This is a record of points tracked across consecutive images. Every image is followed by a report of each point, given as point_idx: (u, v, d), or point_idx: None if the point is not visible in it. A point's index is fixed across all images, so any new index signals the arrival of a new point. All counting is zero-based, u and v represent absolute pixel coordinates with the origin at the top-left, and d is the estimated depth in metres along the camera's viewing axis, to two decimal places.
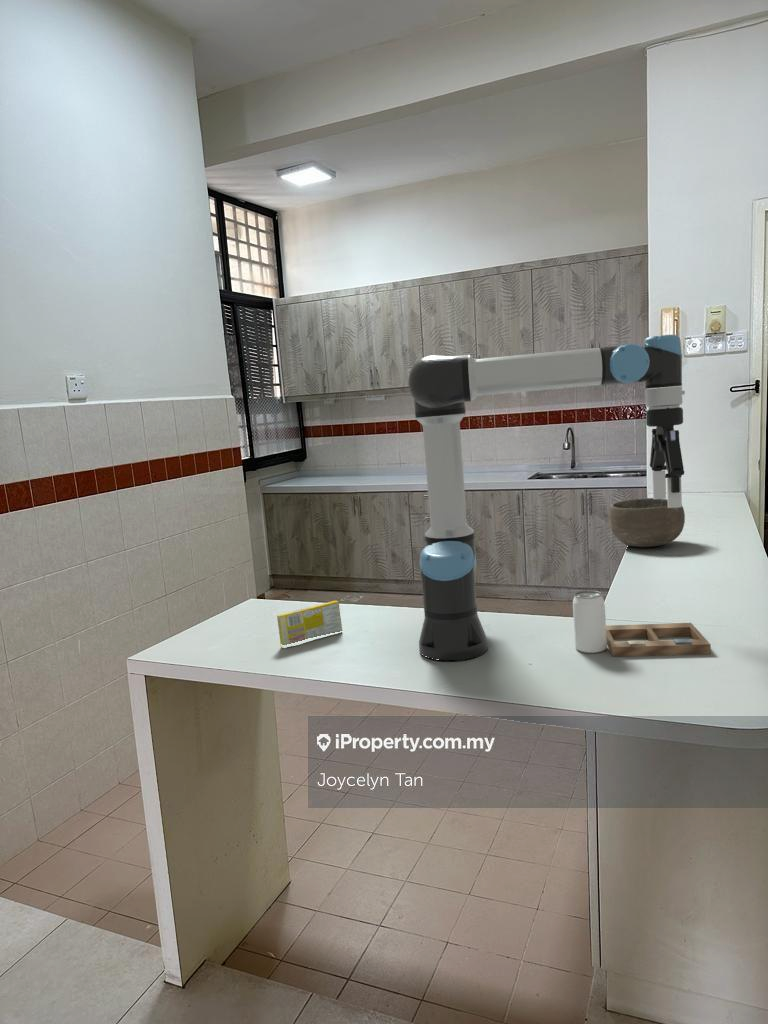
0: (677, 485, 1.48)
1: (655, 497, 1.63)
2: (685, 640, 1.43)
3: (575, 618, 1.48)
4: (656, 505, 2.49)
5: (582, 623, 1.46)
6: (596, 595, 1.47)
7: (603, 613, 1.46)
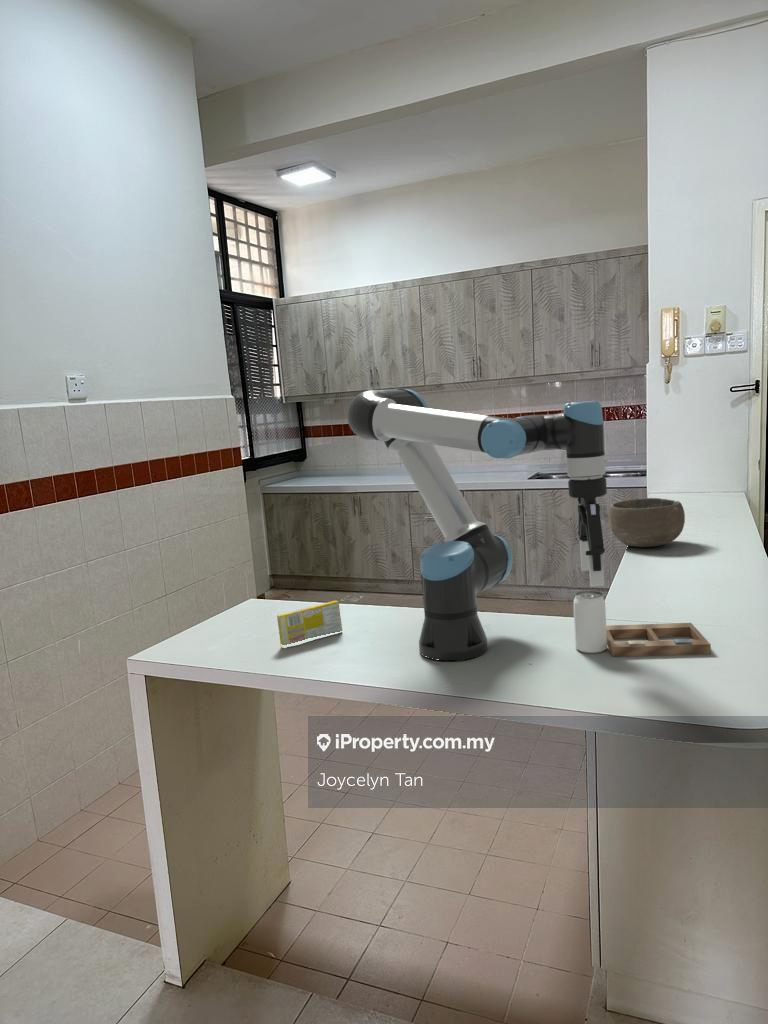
0: (598, 563, 1.38)
1: (583, 569, 1.53)
2: (685, 640, 1.43)
3: (575, 618, 1.47)
4: (656, 505, 2.49)
5: (583, 623, 1.46)
6: (597, 595, 1.47)
7: (604, 613, 1.46)
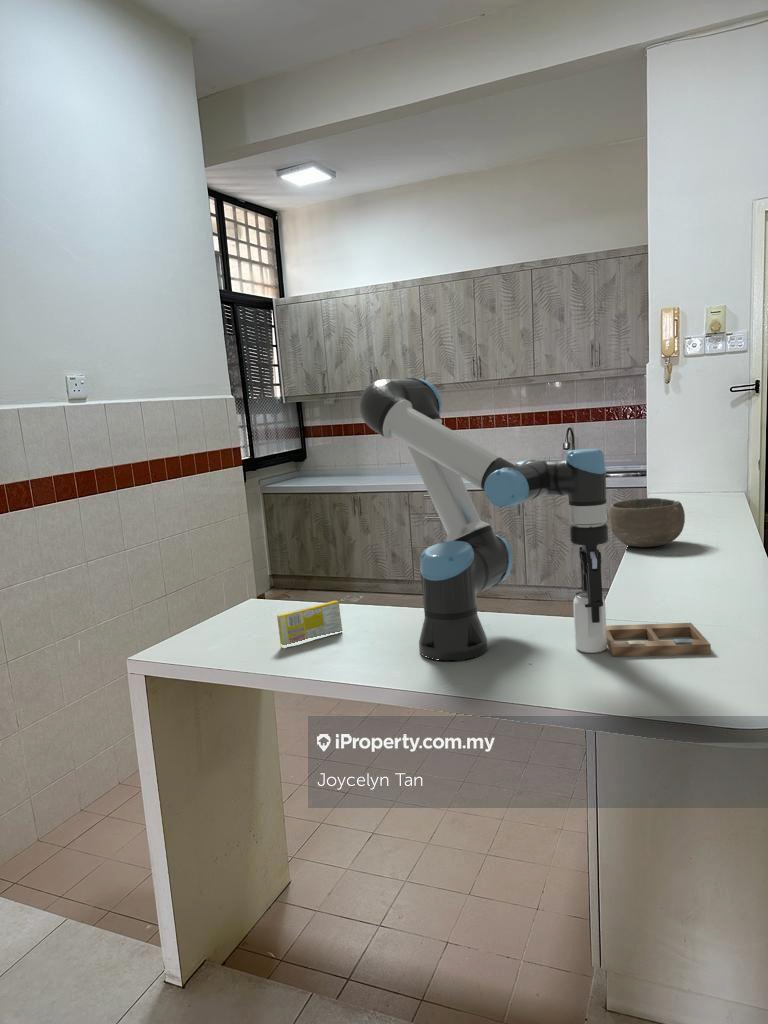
0: (597, 615, 1.43)
1: None
2: (685, 640, 1.43)
3: (575, 618, 1.48)
4: (656, 505, 2.49)
5: (583, 623, 1.46)
6: None
7: (603, 613, 1.46)
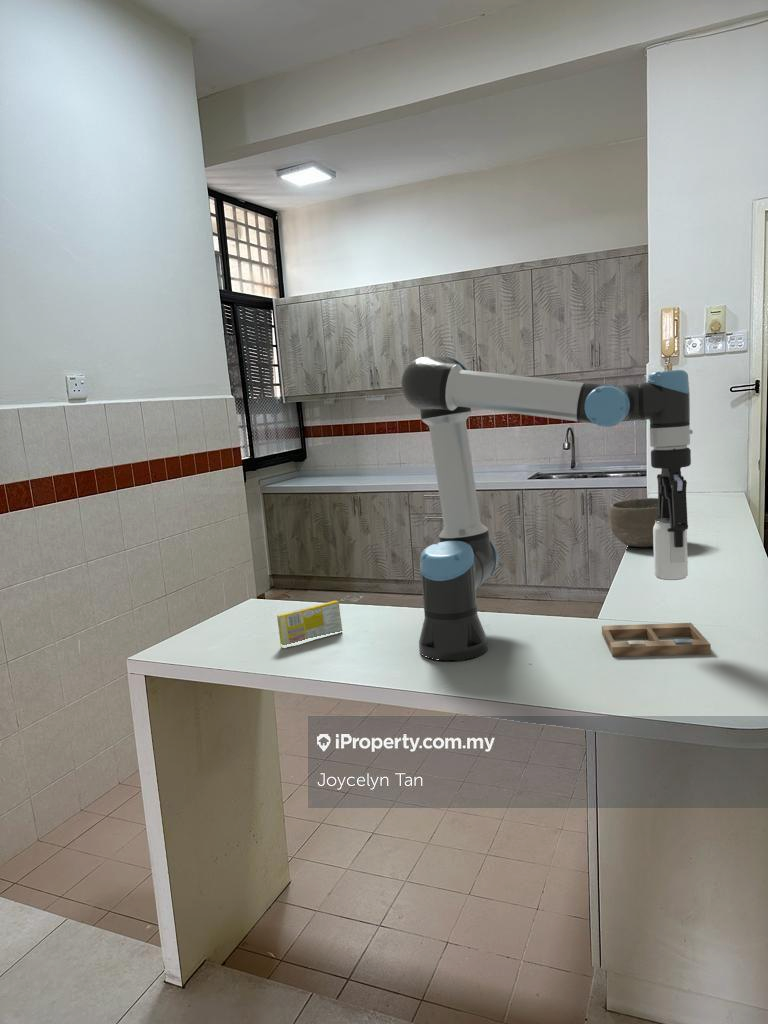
0: (680, 539, 1.40)
1: None
2: (685, 640, 1.43)
3: (656, 544, 1.45)
4: (656, 505, 2.49)
5: (664, 549, 1.43)
6: None
7: (685, 539, 1.43)
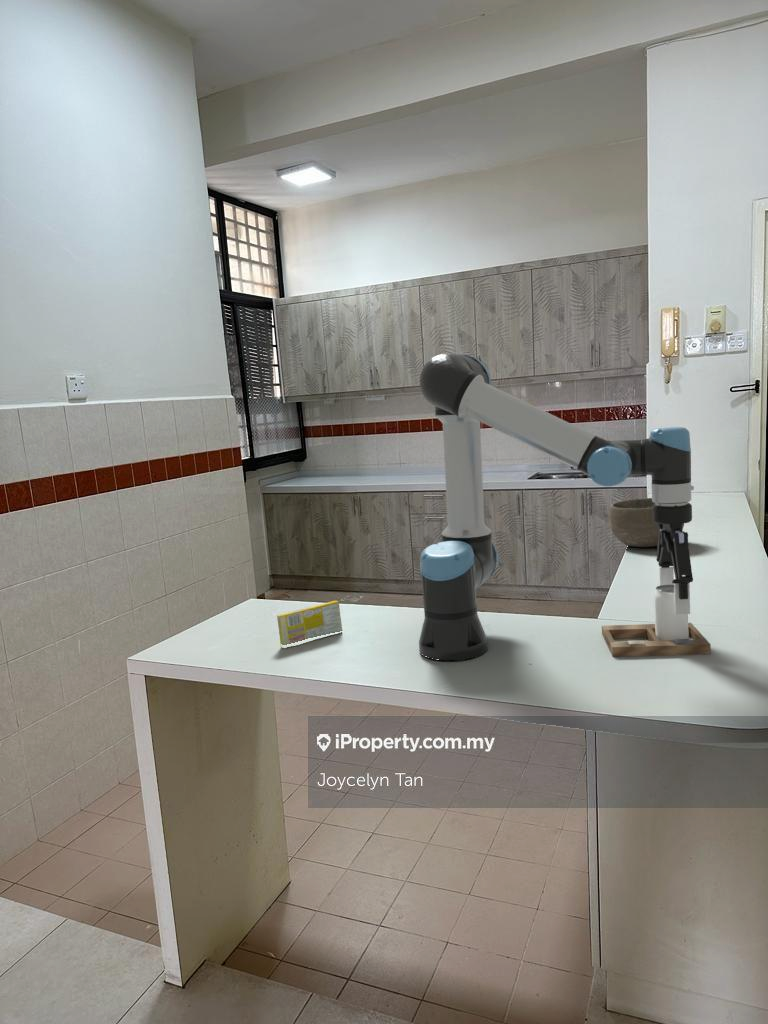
0: (685, 591, 1.39)
1: None
2: (685, 640, 1.43)
3: (657, 612, 1.47)
4: None
5: (665, 617, 1.45)
6: None
7: None
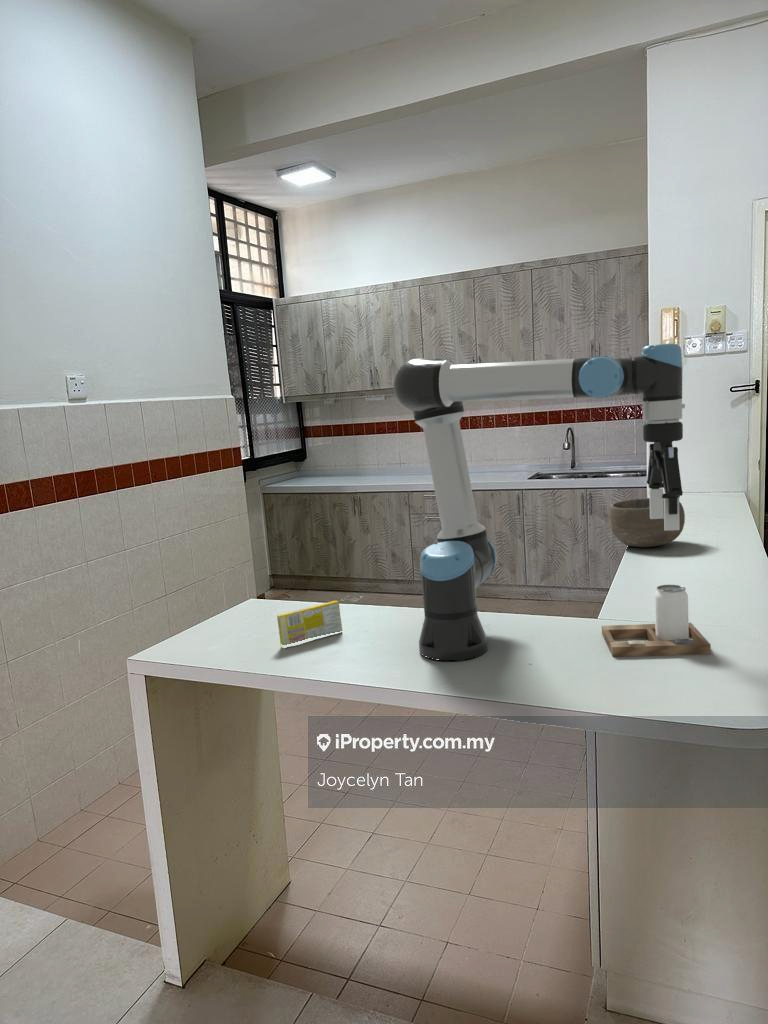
0: (675, 506, 1.37)
1: (652, 517, 1.52)
2: (685, 640, 1.43)
3: (658, 612, 1.47)
4: None
5: (666, 617, 1.45)
6: (679, 589, 1.46)
7: (687, 607, 1.45)
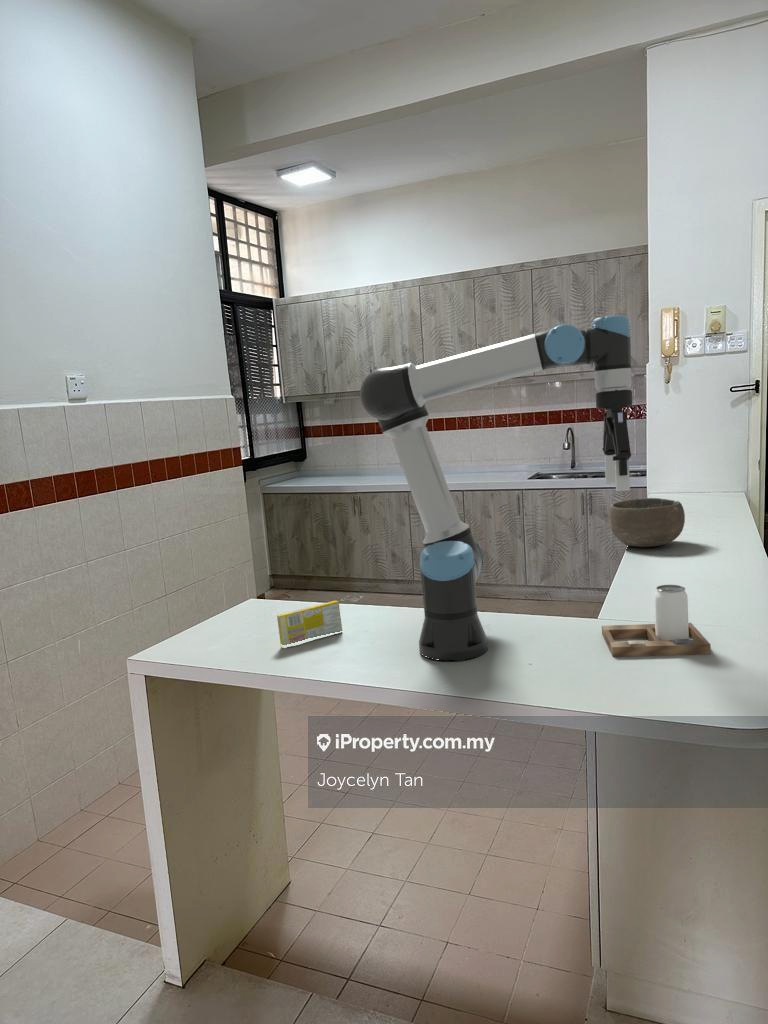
0: (625, 468, 1.46)
1: (607, 482, 1.61)
2: (685, 640, 1.43)
3: (657, 612, 1.47)
4: (656, 505, 2.49)
5: (666, 617, 1.45)
6: (679, 589, 1.46)
7: (686, 607, 1.45)
